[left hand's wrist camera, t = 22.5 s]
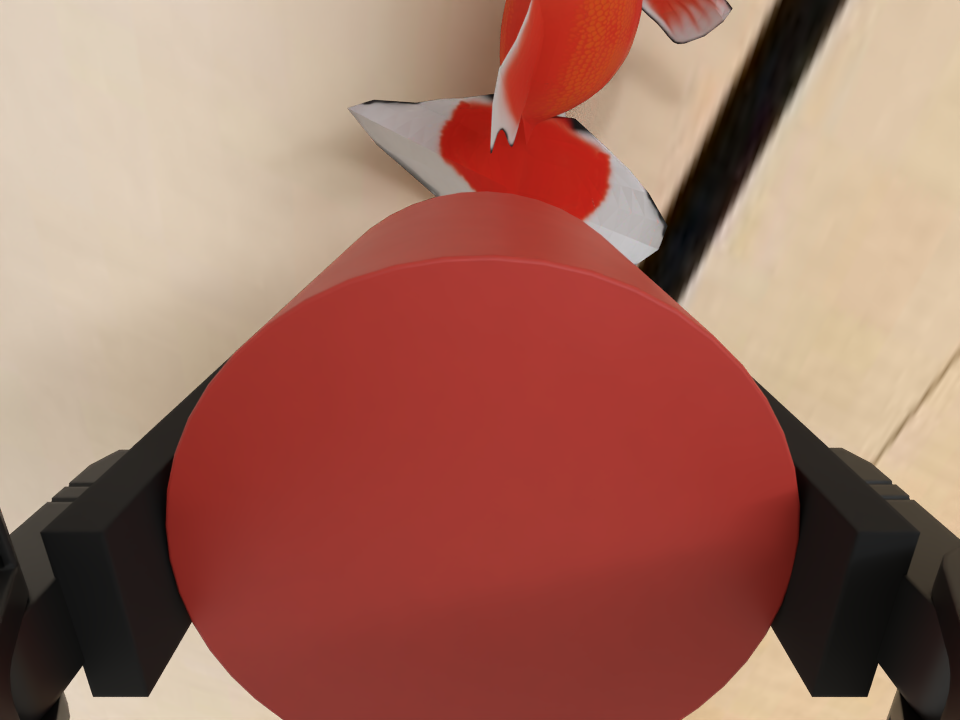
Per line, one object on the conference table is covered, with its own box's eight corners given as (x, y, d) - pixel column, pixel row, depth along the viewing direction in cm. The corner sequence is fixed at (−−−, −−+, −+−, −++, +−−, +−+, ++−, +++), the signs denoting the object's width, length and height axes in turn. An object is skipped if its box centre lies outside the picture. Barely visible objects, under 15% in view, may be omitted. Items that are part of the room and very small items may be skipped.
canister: (291, 185, 14) (103, 244, 7) (680, 196, 14) (878, 265, 7) (319, 512, 17) (210, 774, 10) (633, 519, 17) (737, 784, 10)
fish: (882, -18, 18) (879, -6, 11) (599, 316, 29) (504, 433, 22) (606, -209, 19) (438, -314, 12) (431, 180, 30) (286, 249, 23)
